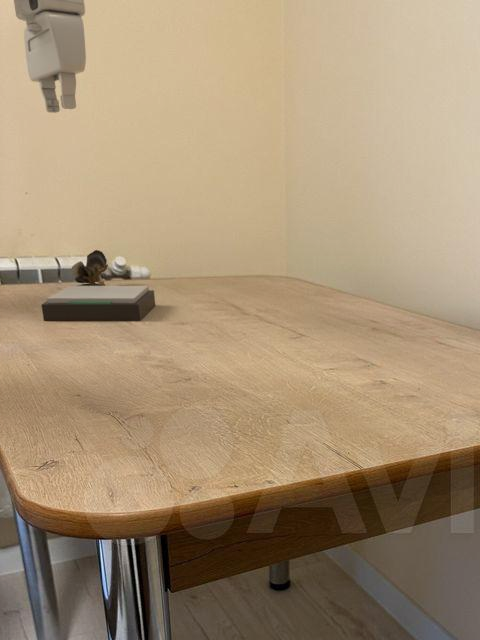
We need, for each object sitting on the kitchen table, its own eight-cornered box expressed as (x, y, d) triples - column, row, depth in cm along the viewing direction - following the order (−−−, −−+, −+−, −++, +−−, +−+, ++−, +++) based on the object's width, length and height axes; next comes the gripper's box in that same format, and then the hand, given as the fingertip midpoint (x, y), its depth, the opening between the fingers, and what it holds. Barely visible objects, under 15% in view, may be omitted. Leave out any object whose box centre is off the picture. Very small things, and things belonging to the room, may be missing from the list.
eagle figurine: (122, 282, 135) (116, 267, 141) (96, 251, 130) (92, 237, 137) (89, 305, 135) (85, 289, 141) (62, 274, 130) (60, 260, 137)
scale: (43, 320, 105) (40, 298, 104) (69, 304, 118) (66, 285, 116) (140, 320, 106) (137, 298, 105) (155, 304, 119) (153, 285, 118)
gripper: (9, 15, 112) (24, 113, 117) (40, -9, 96) (56, 105, 102) (50, 20, 115) (64, 115, 121) (87, -3, 100) (101, 107, 105)
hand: (61, 110), depth 111 cm, fingers open, 8 cm apart
